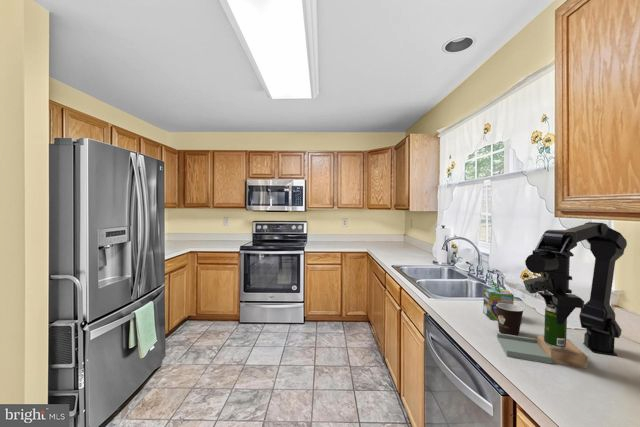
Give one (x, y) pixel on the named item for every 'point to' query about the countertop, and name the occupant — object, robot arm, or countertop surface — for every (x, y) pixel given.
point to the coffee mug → (508, 318)
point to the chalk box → (495, 300)
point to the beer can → (554, 329)
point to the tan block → (564, 353)
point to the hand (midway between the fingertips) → (555, 320)
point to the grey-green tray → (522, 348)
